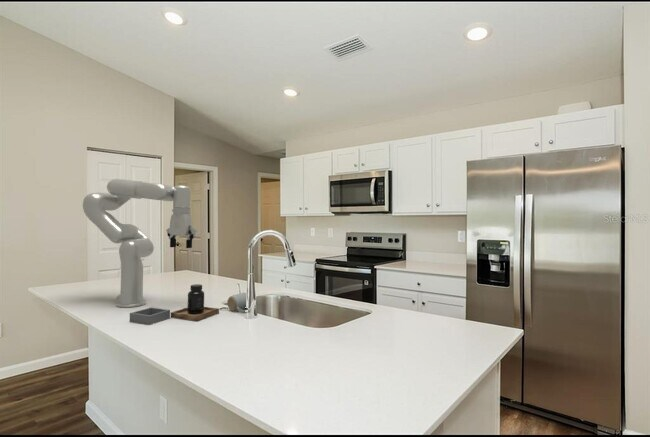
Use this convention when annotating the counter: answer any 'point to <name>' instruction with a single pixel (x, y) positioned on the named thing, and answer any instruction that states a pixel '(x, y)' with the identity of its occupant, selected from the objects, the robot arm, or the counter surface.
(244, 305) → the ceramic mug
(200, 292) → the supplement bottle
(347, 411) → the counter surface
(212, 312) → the walnut tray
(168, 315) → the gray open box
